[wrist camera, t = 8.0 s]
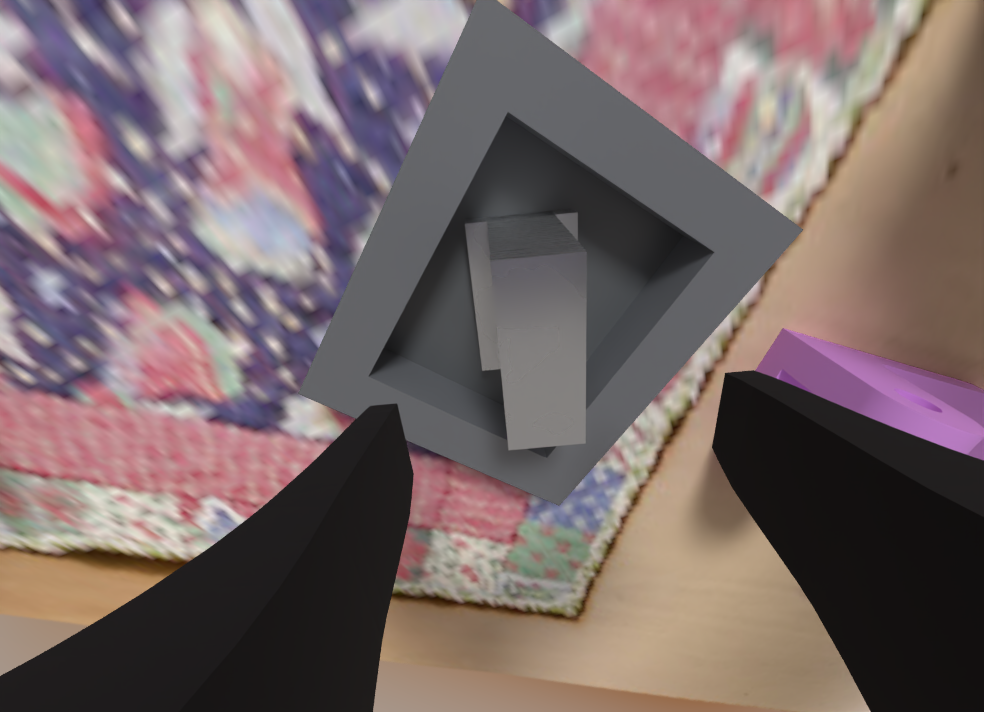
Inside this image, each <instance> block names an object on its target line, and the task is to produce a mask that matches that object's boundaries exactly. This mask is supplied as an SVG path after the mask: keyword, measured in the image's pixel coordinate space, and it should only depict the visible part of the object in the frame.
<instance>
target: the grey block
mask: <svg viewBox="0 0 984 712" xmlns="http://www.w3.org/2000/svg"><path fill="white" fill-rule="evenodd" d="M465 230H466V239H467V247H468V256H469V264H470V272H471V281H472V289H473V297H474V306H475V314H476V323H477V331H478V339H479V348H480V356H481V364H482V371H485V370H496V369H501V377H502V388H503V398H504V409H505V419H506V429H507V440H508V450H518V449H529V448H540V447H551V446H563V445H574V444H585V443H586V308H587V251H586V250H585V249H584V248H583V247H582V245H581V244H580V243H579V242H578V212H577V211H575V210H574V209H566V210H556V211H546V212H536V213H526V214H516V215H506V216H496V217H487V218H477V219H467V220H465Z"/></svg>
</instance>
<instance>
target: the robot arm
mask: <svg viewBox="0 0 984 712" xmlns="http://www.w3.org/2000/svg"><path fill="white" fill-rule="evenodd" d="M712 448H713V450H714V452H715V454H716V457H717V459H718V461H719V463H720V465H721V467H722V469H723V471H724V473H725V475H726V477H727V479H728V480H729V482H730V484H731V486H732V488H733V489H734V491H735V492H736V494H737V495H738V497H739V498H740V500H741V501H742V503H743V504H744V506H745V507H746V509H747V510H748V512H749V513H750V515H751V516H752V518H753V519H754V520H755V522H756V523H757V525H758V526H759V528H760V529H761V531H762V532H763V533H764V535H765V536H766V538H767V539H768V541H769V542H770V543H771V545H772V546H773V548H774V549H775V551H776V552H777V554H778V555H779V556H780V558H781V559H782V561H783V562H784V564H785V565H786V566H787V568H788V569H789V571H790V572H791V574H792V575H793V577H794V578H795V579H796V581H797V582H798V584H799V585H800V587H801V588H802V590H803V592H804V593H805V595H806V596H807V598H808V599H809V601H810V603H811V604H812V606H813V607H814V609H815V611H816V612H817V614H818V616H819V618H820V620H821V621H822V623H823V625H824V627H825V628H826V630H827V632H828V634H829V636H830V637H831V639H832V641H833V643H834V644H835V646H836V648H837V650H838V651H839V653H840V655H841V657H842V659H843V660H844V662H845V664H846V666H847V668H848V670H849V672H850V673H851V675H852V677H853V679H854V681H855V683H856V685H857V687H858V689H859V690H860V692H861V694H862V696H863V698H864V700H865V702H866V704H867V705H868V707H869V709H870V711H871V712H984V460H981V459H978V458H975V457H972V456H969V455H966V454H963V453H961V452H958V451H955V450H952V449H949V448H946V447H944V446H941V445H938V444H936V443H933V442H931V441H928V440H925V439H923V438H920V437H917V436H915V435H912V434H910V433H907V432H904V431H902V430H899V429H896V428H894V427H892V426H889V425H887V424H884V423H882V422H879V421H877V420H874V419H872V418H869V417H867V416H865V415H862V414H860V413H857V412H855V411H853V410H850V409H848V408H846V407H843V406H841V405H838V404H836V403H834V402H831V401H829V400H827V399H824V398H822V397H820V396H817V395H815V394H813V393H810V392H808V391H806V390H803V389H801V388H799V387H796V386H794V385H792V384H789V383H787V382H784V381H782V380H779V379H777V378H774V377H772V376H769V375H766V374H763V373H760V372H757V371H754V370H753V371H742V372H731V373H725V377H724V383H723V388H722V394H721V400H720V405H719V411H718V417H717V423H716V428H715V434H714V440H713V445H712ZM413 475H414V473H413V469H412V465H411V461H410V456H409V452H408V448H407V443H406V439H405V435H404V430H403V426H402V422H401V418H400V413H399V409H398V405H397V403H395V404H384V405H374V406H369V407H368V408H367V409H366V410H365V411H364V412H363V413H362V414H361V415H360V416H359V417H358V418H357V419H356V420H355V421H354V422H353V423H352V424H351V425H350V426H349V427H348V428H347V429H346V430H345V431H344V432H343V433H342V434H341V435H340V436H339V437H338V438H337V439H336V440H335V441H334V442H333V443H332V444H331V445H330V446H329V447H328V448H327V449H326V450H325V451H324V452H323V453H322V454H321V455H320V456H319V457H318V458H317V459H316V460H315V461H313V462H312V463H311V464H310V465H309V466H308V467H307V468H306V469H305V470H304V471H303V472H302V473H300V474H299V475H298V476H297V477H296V478H295V479H294V480H293V481H291V482H290V483H289V484H288V485H287V486H286V487H285V488H284V489H283V490H281V491H280V492H279V493H278V494H277V495H276V496H275V497H274V498H273V499H271V500H270V501H269V502H268V503H267V504H265V505H264V506H263V507H262V508H261V509H259V510H258V511H257V512H256V513H254V514H253V515H252V516H251V517H250V518H248V519H247V520H246V521H244V522H243V523H242V524H240V525H239V526H238V527H237V528H235V529H234V530H233V531H231V532H230V533H229V534H227V535H226V536H225V537H223V538H222V539H221V540H220V541H218V542H217V543H215V544H214V545H213V546H211V547H210V548H209V549H207V550H206V551H204V552H203V553H201V554H200V555H198V556H197V557H195V558H194V559H192V560H191V561H189V562H188V563H187V564H185V565H184V566H182V567H181V568H179V569H178V570H176V571H175V572H173V573H172V574H170V575H169V576H167V577H166V578H164V579H163V580H162V581H160V582H159V583H157V584H156V585H154V586H153V587H151V588H150V589H148V590H147V591H145V592H144V593H142V594H140V595H139V596H137V597H136V598H134V599H132V600H131V601H129V602H128V603H126V604H124V605H123V606H121V607H120V608H118V609H116V610H115V611H113V612H111V613H110V614H108V615H107V616H105V617H103V618H102V619H100V620H98V621H97V622H95V623H93V624H91V625H90V626H88V627H86V628H85V629H83V630H81V631H80V632H78V633H77V634H75V635H73V636H71V637H70V638H68V639H66V640H64V641H63V642H61V643H59V644H57V645H56V646H54V647H52V648H51V649H49V650H47V651H45V652H44V653H42V654H40V655H38V656H36V657H35V658H33V659H31V660H29V661H27V662H25V663H24V664H22V665H20V666H18V667H16V668H14V669H12V670H11V671H9V672H7V673H5V674H3V675H1V676H0V712H373V706H374V698H375V690H376V682H377V675H378V667H379V660H380V653H381V645H382V639H383V633H384V628H385V623H386V618H387V613H388V609H389V604H390V600H391V596H392V591H393V587H394V582H395V578H396V574H397V569H398V565H399V561H400V556H401V552H402V548H403V543H404V539H405V534H406V530H407V525H408V520H409V516H410V507H411V498H412V486H413Z"/></svg>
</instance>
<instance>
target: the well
mask: <svg viewBox="0 0 984 712" xmlns="http://www.w3.org/2000/svg"><path fill="white" fill-rule="evenodd" d="M566 209H574V210H575V211H577V212H578V242H579V243H580V244H581V245H582V247H583V248H584V249H585V250H586V251H587V308H586V443H585V444H574V445H563V446H551V447H540V448H529V449H518V450H508V440H507V429H506V419H505V409H504V398H503V388H502V377H501V369H496V370H485V371H482V364H481V356H480V348H479V339H478V331H477V323H476V314H475V306H474V297H473V289H472V281H471V272H470V264H469V256H468V247H467V239H466V230H465V220H467V219H477V218H487V217H496V216H506V215H516V214H526V213H536V212H546V211H556V210H566ZM802 231H803V229H802V228H800V227H799V226H797V225H796V224H795V223H793V222H792V221H791V220H789V219H788V218H787V217H785V216H784V215H783V214H781V213H780V212H779V211H777V210H776V209H775V208H773V207H772V206H771V205H769V204H768V203H767V202H765V201H764V200H763V199H761V198H760V197H759V196H757V195H756V194H755V193H753V192H752V191H751V190H749V189H748V188H747V187H745V186H744V185H743V184H741V183H740V182H739V181H737V180H736V179H735V178H733V177H732V176H731V175H729V174H728V173H727V172H725V171H724V170H723V169H721V168H720V167H719V166H717V165H716V164H715V163H713V162H712V161H711V160H709V159H708V158H707V157H705V156H704V155H703V154H701V153H700V152H699V151H697V150H696V149H695V148H693V147H692V146H691V145H689V144H688V143H687V142H685V141H684V140H683V139H681V138H680V137H679V136H677V135H676V134H675V133H673V132H672V131H671V130H669V129H668V128H667V127H665V126H664V125H663V124H661V123H660V122H659V121H657V120H656V119H655V118H653V117H652V116H651V115H649V114H648V113H647V112H645V111H644V110H642V109H641V108H640V107H638V106H637V105H636V104H634V103H633V102H632V101H630V100H629V99H628V98H626V97H625V96H624V95H622V94H621V93H620V92H618V91H617V90H616V89H614V88H613V87H612V86H610V85H609V84H608V83H606V82H605V81H604V80H602V79H601V78H600V77H598V76H597V75H596V74H594V73H593V72H592V71H590V70H589V69H588V68H586V67H585V66H584V65H582V64H581V63H580V62H578V61H577V60H576V59H574V58H573V57H572V56H570V55H569V54H568V53H566V52H565V51H564V50H562V49H561V48H560V47H558V46H557V45H556V44H554V43H553V42H552V41H550V40H549V39H548V38H546V37H545V36H544V35H542V34H541V33H540V32H538V31H537V30H536V29H534V28H533V27H532V26H530V25H529V24H528V23H526V22H525V21H524V20H522V19H521V18H520V17H518V16H517V15H516V14H514V13H513V12H512V11H510V10H509V9H508V8H506V7H505V6H504V5H502V4H501V3H500V2H498V1H497V0H477V1H476V3H475V5H474V7H473V10H472V12H471V14H470V16H469V18H468V21H467V23H466V25H465V27H464V29H463V32H462V34H461V36H460V38H459V40H458V43H457V45H456V47H455V49H454V51H453V54H452V56H451V58H450V60H449V62H448V65H447V67H446V69H445V71H444V73H443V76H442V78H441V80H440V82H439V84H438V87H437V89H436V91H435V93H434V96H433V98H432V100H431V102H430V104H429V107H428V109H427V111H426V113H425V115H424V118H423V120H422V122H421V124H420V126H419V129H418V131H417V133H416V135H415V137H414V140H413V142H412V144H411V146H410V148H409V151H408V153H407V155H406V157H405V159H404V162H403V164H402V166H401V168H400V170H399V173H398V175H397V177H396V179H395V181H394V184H393V186H392V188H391V190H390V193H389V195H388V197H387V199H386V201H385V204H384V206H383V208H382V210H381V212H380V215H379V217H378V219H377V221H376V223H375V226H374V228H373V230H372V232H371V234H370V237H369V239H368V241H367V243H366V245H365V248H364V250H363V252H362V254H361V256H360V259H359V261H358V263H357V265H356V267H355V270H354V272H353V274H352V276H351V278H350V281H349V283H348V285H347V287H346V289H345V292H344V294H343V296H342V298H341V301H340V303H339V305H338V307H337V309H336V312H335V314H334V316H333V318H332V320H331V323H330V325H329V327H328V329H327V331H326V334H325V336H324V338H323V340H322V342H321V345H320V347H319V349H318V351H317V353H316V356H315V358H314V360H313V362H312V364H311V367H310V369H309V371H308V373H307V375H306V378H305V380H304V382H303V384H302V386H301V389H300V391H299V393H298V394H300V395H302V396H304V397H307V398H309V399H311V400H314V401H316V402H318V403H321V404H323V405H325V406H328V407H330V408H332V409H335V410H337V411H339V412H342V413H344V414H346V415H349V416H351V417H353V418H356V419H357V418H358V417H359V416H360V415H361V414H362V413H363V412H364V411H365V410H366V409H367V408H368V407H369V406H374V405H384V404H395V403H397V405H398V409H399V413H400V418H401V422H402V426H403V430H404V435H405V439H406V440H407V441H409V442H412V443H414V444H416V445H419V446H421V447H423V448H426V449H428V450H430V451H433V452H435V453H437V454H440V455H442V456H444V457H447V458H449V459H451V460H454V461H456V462H458V463H461V464H463V465H465V466H468V467H470V468H472V469H475V470H477V471H479V472H482V473H484V474H486V475H489V476H491V477H493V478H496V479H498V480H500V481H503V482H505V483H507V484H510V485H512V486H514V487H517V488H519V489H521V490H523V491H526V492H528V493H530V494H533V495H535V496H537V497H540V498H542V499H544V500H547V501H549V502H551V503H554V504H556V505H558V506H559V505H560V504H561V503H562V502H563V501H564V500H565V499H566V498H567V496H568V495H569V494H570V493H571V492H572V491H573V490H574V488H575V487H576V486H577V485H578V484H579V483H580V482H581V481H582V479H583V478H584V477H585V476H586V475H587V474H588V473H589V472H590V470H591V469H592V468H593V467H594V466H595V465H596V464H597V462H598V461H599V460H600V459H601V458H602V457H603V456H604V455H605V453H606V452H607V451H608V450H609V449H610V448H611V447H612V445H613V444H614V443H615V442H616V441H617V440H618V439H619V438H620V436H621V435H622V434H623V433H624V432H625V431H626V430H627V429H628V427H629V426H630V425H631V424H632V423H633V422H634V421H635V419H636V418H637V417H638V416H639V415H640V414H641V413H642V412H643V410H644V409H645V408H646V407H647V406H648V405H649V404H650V403H651V401H652V400H653V399H654V398H655V397H656V396H657V395H658V393H659V392H660V391H661V390H662V389H663V388H664V387H665V386H666V384H667V383H668V382H669V381H670V380H671V379H672V378H673V377H674V375H675V374H676V373H677V372H678V371H679V370H680V369H681V367H682V366H683V365H684V364H685V363H686V362H687V361H688V360H689V358H690V357H691V356H692V355H693V354H694V353H695V352H696V351H697V349H698V348H699V347H700V346H701V345H702V344H703V343H704V341H705V340H706V339H707V338H708V337H709V336H710V335H711V334H712V332H713V331H714V330H715V329H716V328H717V327H718V326H719V324H720V323H721V322H722V321H723V320H724V319H725V318H726V317H727V315H728V314H729V313H730V312H731V311H732V310H733V309H734V308H735V306H736V305H737V304H738V303H739V302H740V301H741V300H742V298H743V297H744V296H745V295H746V294H747V293H748V292H749V291H750V289H751V288H752V287H753V286H754V285H755V284H756V283H757V282H758V280H759V279H760V278H761V277H762V276H763V275H764V274H765V272H766V271H767V270H768V269H769V268H770V267H771V266H772V265H773V263H774V262H775V261H776V260H777V259H778V258H779V257H780V256H781V254H782V253H783V252H784V251H785V250H786V249H787V248H788V246H789V245H790V244H791V243H792V242H793V241H794V240H795V239H796V237H797V236H798V235H799V234H800V233H801V232H802Z"/></svg>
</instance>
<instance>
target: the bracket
mask: <svg viewBox="0 0 984 712" xmlns="http://www.w3.org/2000/svg"><path fill="white" fill-rule="evenodd" d="M755 371H757V372H760V373H763V374H766V375H769V376H772V377H774V378H777V379H779V380H782V381H784V382H787V383H789V384H792V385H794V386H796V387H799V388H801V389H803V390H806V391H808V392H810V393H813V394H815V395H817V396H820V397H822V398H824V399H827V400H829V401H831V402H834V403H836V404H838V405H841V406H843V407H846V408H848V409H850V410H853V411H855V412H857V413H860V414H862V415H865V416H867V417H869V418H872V419H874V420H877V421H879V422H882V423H884V424H887V425H889V426H892V427H894V428H896V429H899V430H902V431H904V432H907V433H910V434H912V435H915V436H917V437H920V438H923V439H925V440H928V441H931V442H933V443H936V444H938V445H941V446H944V447H946V448H949V449H952V450H955V451H958V452H961V453H963V454H966V455H969V456H972V457H975V458H978V459H981V460H984V390H983V389H981V388H979V387H977V386H975V385H973V384H970V383H967V382H964V381H961V380H957V379H954V378H950V377H947V376H944V375H940V374H937V373H934V372H930V371H927V370H923V369H920V368H917V367H913V366H910V365H906V364H903V363H900V362H896V361H893V360H889V359H886V358H883V357H879V356H876V355H872V354H869V353H866V352H862V351H859V350H855V349H852V348H849V347H845V346H842V345H838V344H835V343H832V342H828V341H825V340H821V339H818V338H815V337H811V336H808V335H804V334H801V333H798V332H794V331H791V330H788V329H784V328H783V329H782V330H781V332H780V333H779V335H778V337H777V338H776V340H775V341H774V343H773V344H772V346H771V347H770V349H769V350H768V352H767V353H766V355H765V356H764V358H763V360H762V361H761V363H760V364H759V366H758V367H757V369H756V370H755Z"/></svg>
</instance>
